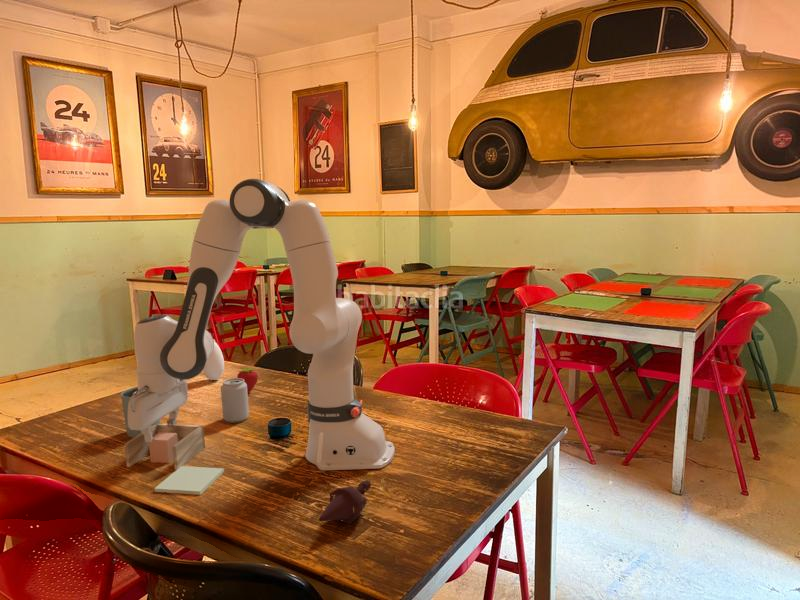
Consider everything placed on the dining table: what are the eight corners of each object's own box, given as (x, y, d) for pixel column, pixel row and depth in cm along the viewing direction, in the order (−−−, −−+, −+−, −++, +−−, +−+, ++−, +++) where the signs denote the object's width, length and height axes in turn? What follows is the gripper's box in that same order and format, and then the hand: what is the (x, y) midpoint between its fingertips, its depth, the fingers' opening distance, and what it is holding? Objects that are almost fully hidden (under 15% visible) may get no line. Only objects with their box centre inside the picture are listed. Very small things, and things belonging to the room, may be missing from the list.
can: (252, 414, 170) (250, 376, 168) (243, 424, 163) (240, 384, 161) (229, 414, 171) (226, 376, 169) (219, 423, 164) (215, 384, 162)
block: (179, 455, 143) (177, 433, 142) (169, 463, 138) (166, 440, 137) (161, 454, 144) (159, 432, 143) (150, 462, 139) (148, 439, 138)
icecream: (338, 513, 102) (385, 485, 114) (309, 493, 106) (357, 468, 118) (330, 545, 103) (377, 515, 116) (301, 525, 107) (350, 497, 120)
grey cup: (121, 431, 159) (116, 391, 158) (157, 422, 166) (153, 383, 164) (130, 442, 152) (126, 399, 150) (169, 432, 158) (165, 391, 156)
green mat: (224, 471, 133) (223, 468, 133) (200, 494, 122) (200, 491, 122) (181, 469, 135) (181, 466, 135) (154, 491, 124) (154, 488, 124)
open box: (205, 447, 147) (203, 425, 146) (177, 469, 135) (175, 446, 134) (157, 444, 149) (155, 423, 149) (126, 466, 137) (124, 443, 136)
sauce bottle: (220, 375, 212) (216, 329, 209) (228, 380, 206) (225, 332, 203) (199, 380, 207) (195, 332, 204) (207, 384, 201) (203, 336, 198)
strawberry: (250, 396, 187) (248, 367, 185) (234, 393, 190) (232, 365, 189) (263, 391, 192) (261, 363, 191) (246, 388, 196) (244, 360, 194)
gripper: (142, 394, 127) (147, 451, 130) (190, 369, 147) (194, 419, 150) (117, 393, 128) (123, 450, 131) (168, 368, 148) (172, 417, 151)
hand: (161, 433), depth 140 cm, fingers open, 8 cm apart
